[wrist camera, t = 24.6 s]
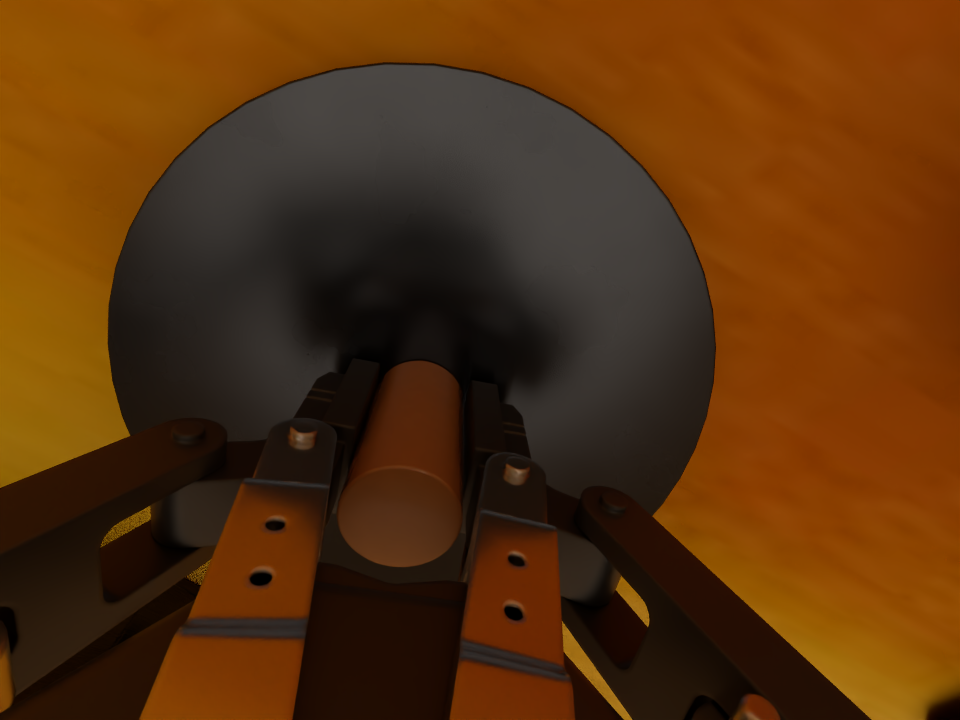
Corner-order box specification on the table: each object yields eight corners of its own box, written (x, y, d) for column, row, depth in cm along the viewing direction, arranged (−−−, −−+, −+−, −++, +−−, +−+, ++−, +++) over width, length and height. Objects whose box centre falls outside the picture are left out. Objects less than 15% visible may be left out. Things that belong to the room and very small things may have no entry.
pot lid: (140, 553, 18) (-10, 748, 12) (121, -13, 12) (-197, -152, 6) (602, 617, 20) (659, 813, 14) (793, 154, 14) (1031, 167, 8)
